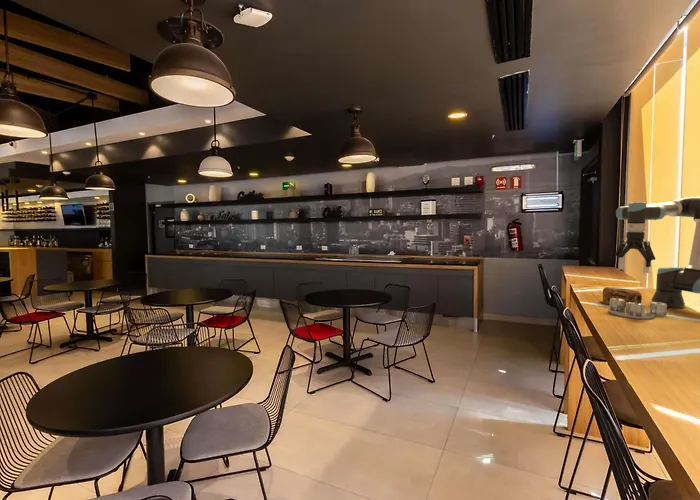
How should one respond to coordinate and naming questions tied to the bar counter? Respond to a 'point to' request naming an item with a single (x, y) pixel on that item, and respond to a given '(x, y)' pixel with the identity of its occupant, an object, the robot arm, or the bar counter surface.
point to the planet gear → (658, 308)
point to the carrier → (629, 309)
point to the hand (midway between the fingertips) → (633, 271)
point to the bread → (621, 295)
